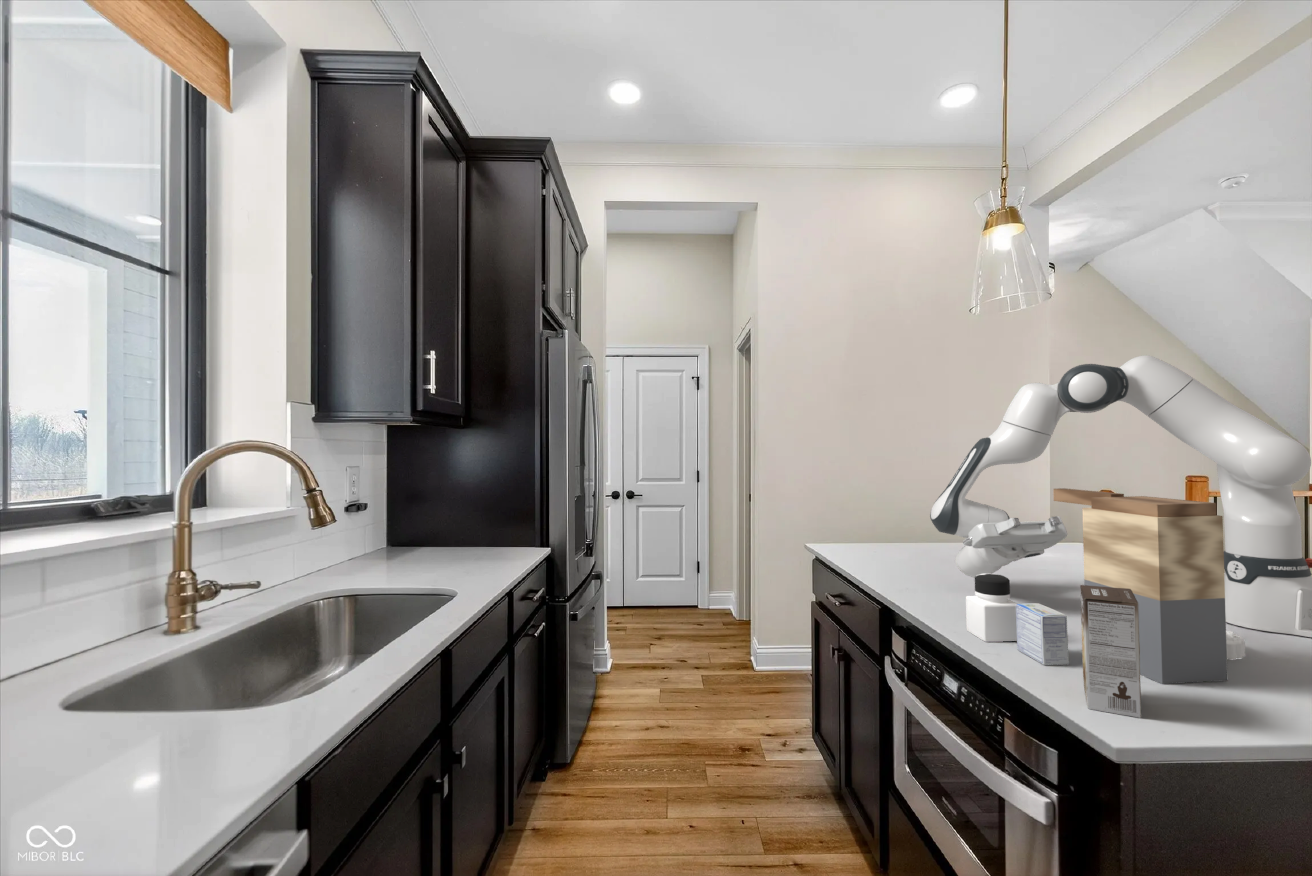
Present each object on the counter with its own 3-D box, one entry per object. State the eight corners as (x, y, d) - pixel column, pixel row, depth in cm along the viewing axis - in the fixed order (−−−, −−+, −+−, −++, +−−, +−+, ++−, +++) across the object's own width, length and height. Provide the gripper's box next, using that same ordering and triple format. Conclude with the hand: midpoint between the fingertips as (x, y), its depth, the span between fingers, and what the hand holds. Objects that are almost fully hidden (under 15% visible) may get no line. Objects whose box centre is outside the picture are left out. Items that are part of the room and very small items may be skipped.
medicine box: (1069, 665, 101) (1068, 614, 101) (1043, 666, 101) (1041, 615, 102) (1040, 649, 109) (1039, 602, 109) (1016, 650, 109) (1014, 602, 109)
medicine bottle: (1022, 641, 114) (1020, 579, 114) (984, 642, 114) (983, 579, 114) (1001, 630, 121) (999, 571, 121) (965, 630, 121) (964, 571, 121)
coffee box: (1081, 686, 93) (1079, 583, 93) (1134, 695, 89) (1131, 588, 90) (1086, 709, 85) (1083, 596, 85) (1144, 719, 82) (1140, 602, 82)
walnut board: (1082, 500, 122) (1082, 487, 122) (1216, 515, 95) (1215, 499, 95) (1036, 501, 121) (1035, 489, 121) (1157, 517, 94) (1157, 501, 94)
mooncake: (1181, 658, 104) (1181, 638, 104) (1142, 637, 116) (1141, 618, 116) (1264, 663, 101) (1263, 642, 101) (1215, 640, 113) (1214, 621, 113)
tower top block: (1140, 577, 109) (1138, 506, 109) (1224, 598, 94) (1222, 515, 94) (1084, 579, 108) (1082, 507, 108) (1159, 600, 93) (1157, 517, 93)
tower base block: (1143, 648, 109) (1140, 577, 109) (1227, 680, 94) (1224, 598, 94) (1086, 650, 108) (1084, 579, 108) (1162, 683, 93) (1159, 600, 93)
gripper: (955, 532, 141) (986, 508, 129) (1037, 529, 142) (1075, 505, 130) (963, 558, 137) (996, 535, 125) (1047, 554, 139) (1087, 532, 127)
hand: (1037, 520), depth 128 cm, fingers open, 8 cm apart
